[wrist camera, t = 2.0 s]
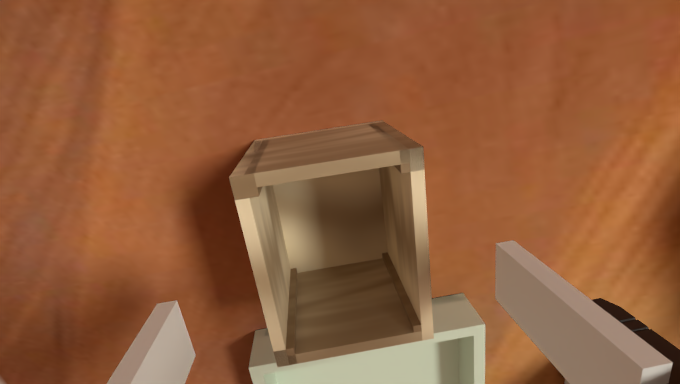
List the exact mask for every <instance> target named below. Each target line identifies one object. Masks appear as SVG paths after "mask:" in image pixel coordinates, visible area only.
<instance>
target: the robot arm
mask: <svg viewBox="0 0 680 384" xmlns="http://www.w3.org/2000/svg"><path fill="white" fill-rule="evenodd" d="M495 299H496V300H497V301H498V302H499V304H500V305H501V306H502V307H503V308H504V309H505V310H506V312H507V313H508V314H509V315H510V316H511V317H512V318H513V320H514V321H515V322H516V323H517V324H518V325H519V326H520V328H521V329H522V330H523V331H524V332H525V333H526V334H527V336H528V337H529V338H530V339H531V340H532V341H533V342H534V344H535V345H536V346H537V347H538V348H539V349H540V350H541V352H542V353H543V354H544V355H545V356H546V357H547V358H548V360H549V361H550V362H551V363H552V364H553V365H554V366H555V368H556V369H557V370H558V371H559V372H560V373H561V374H562V375H563V377H564V378H565V379H566V380H567V381H568V382H569V383H570V384H680V350H679V349H678V348H676V347H675V346H674V345H672V344H671V343H670V342H668V341H667V340H665V339H664V338H663V337H661V336H660V335H658V334H657V333H656V332H654V331H653V330H651V329H650V330H649V329H648V327H647V326H646V325H645V324H643V323H642V322H640V321H639V320H636V319H635V317H633V316H632V315H631V314H629V313H628V312H626V311H625V310H624V309H622V308H621V307H619V306H617V305H615V304H613V303H610V302H608V301H606V300H604V299H601V298H599V299H594V300H591V299H589V298H588V297H587V296H585V295H584V294H583V293H581V292H580V291H579V290H578V289H576V288H575V287H574V286H572V285H571V284H570V283H568V282H567V281H566V280H565V279H563V278H562V277H561V276H559V275H558V274H557V273H555V272H554V271H553V270H552V269H550V268H549V267H548V266H546V265H545V264H544V263H542V262H541V261H540V260H539V259H537V258H536V257H535V256H533V255H532V254H531V253H529V252H528V251H527V250H525V249H524V248H523V247H522V246H520V245H519V244H518V243H516V242H515V241H514V240H512V241H507V242H501V243H496V292H495ZM195 356H196V355H195V352H194V349H193V346H192V343H191V340H190V337H189V334H188V331H187V328H186V325H185V322H184V320H183V317H182V314H181V311H180V308H179V305H178V302H177V300H175V301H170V302H164V303H159V304H157V305H156V306H155V308H154V310H153V311H152V313H151V314H150V316H149V318H148V319H147V321H146V322H145V324H144V325H143V327H142V329H141V330H140V332H139V333H138V335H137V336H136V338H135V340H134V341H133V343H132V344H131V346H130V347H129V349H128V351H127V352H126V354H125V355H124V357H123V358H122V360H121V362H120V363H119V365H118V366H117V368H116V370H115V371H114V373H113V374H112V376H111V377H110V379H109V381H108V382H107V384H185V382H186V379H187V377H188V374H189V371H190V369H191V366H192V364H193V361H194V358H195Z"/></svg>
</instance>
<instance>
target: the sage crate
mask: <svg viewBox="0 0 680 384" xmlns="http://www.w3.org/2000/svg"><path fill="white" fill-rule="evenodd" d="M432 314H433V331H434V339H428V340H423V341H417V342H412V343H407V344H401V345H396V346H391V347H385V348H380V349H374V350H369V351H364V352H358V353H353V354H347V355H342V356H337V357H331V358H326V359H320V360H315V361H310V362H304V363H299V364H293V365H288V366H283V367H277V364H276V360H275V356H274V352H273V348H272V344H271V340H270V336H269V332H268V329H267V328H266V329H260V330H255V335H254V340H253V345H252V351H251V356H250V362H249V367H248V368H249V372H250V375H251V378H252V382H253V384H485V323H484V322H483V320H482V319H481V317H480V316H479V315H478V313H477V312H476V310H475V309H474V308H473V306H472V305H471V304H470V302H469V301H468V299H467V298H466V297H465V295H464V294H463V293H460V294H455V295H449V296H444V297H438V298H433V299H432Z"/></svg>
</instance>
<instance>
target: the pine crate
mask: <svg viewBox="0 0 680 384" xmlns="http://www.w3.org/2000/svg"><path fill="white" fill-rule="evenodd" d="M229 180H230V184H231V188H232V192H233V196H234V199H235V203H236V207H237V211H238V215H239V219H240V223H241V227H242V231H243V235H244V239H245V243H246V246H247V250H248V254H249V258H250V262H251V266H252V270H253V274H254V278H255V282H256V286H257V289H258V293H259V297H260V301H261V305H262V309H263V313H264V317H265V321H266V325H267V329H268V332H269V336H270V340H271V344H272V348H273V352H274V356H275V360H276V364H277V367H283V366H288V365H293V364H299V363H304V362H310V361H315V360H320V359H326V358H331V357H337V356H342V355H347V354H353V353H358V352H364V351H369V350H374V349H380V348H385V347H391V346H396V345H401V344H407V343H412V342H417V341H423V340H428V339H434V331H433V314H432V296H431V278H430V260H429V242H428V225H427V207H426V189H425V171H424V153H423V146H421V145H420V144H418V143H417V142H415V141H413V140H412V139H410V138H409V137H407V136H406V135H404V134H402V133H401V132H399V131H398V130H396V129H395V128H393V127H391V126H390V125H388V124H387V123H385V122H384V121H376V122H369V123H363V124H356V125H350V126H343V127H337V128H330V129H324V130H317V131H311V132H304V133H298V134H291V135H285V136H278V137H272V138H265V139H259V140H254V142H253V143H252V145H251V146H250V148H249V149H248V150H247V152H246V153H245V155H244V156H243V158H242V159H241V161H240V162H239V163H238V165H237V166H236V168H235V169H234V171H233V172H232V174H231V175H230V176H229Z"/></svg>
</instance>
